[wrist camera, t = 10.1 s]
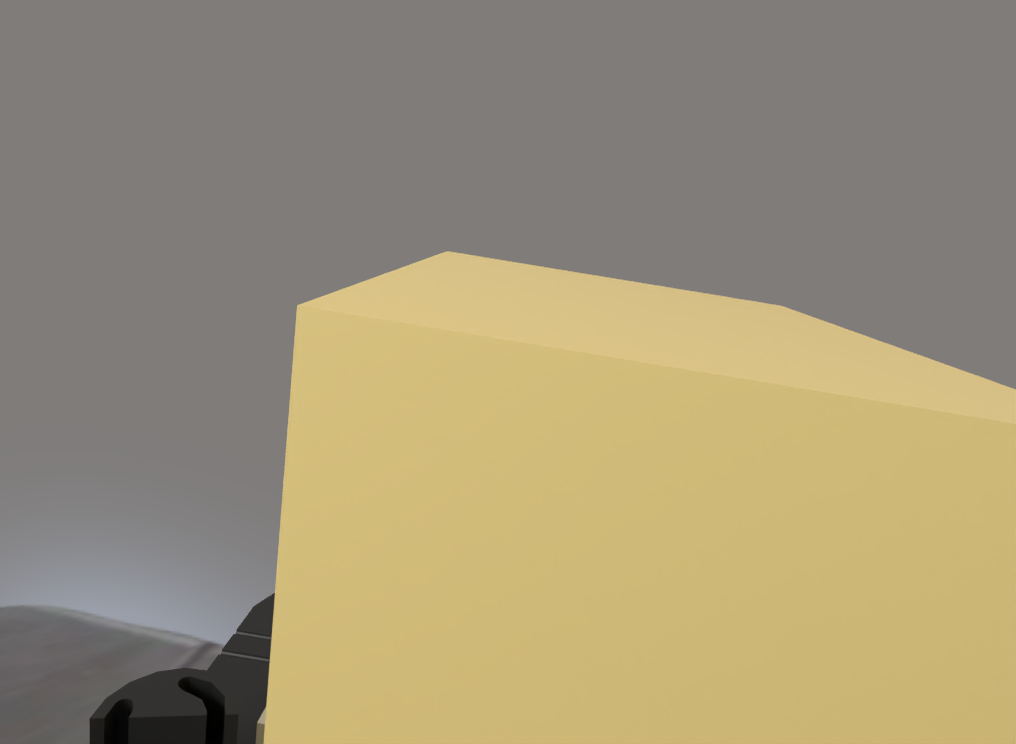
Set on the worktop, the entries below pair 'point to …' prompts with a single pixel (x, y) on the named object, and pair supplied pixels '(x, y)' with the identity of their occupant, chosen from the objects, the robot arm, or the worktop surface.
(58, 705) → the worktop surface
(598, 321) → the stub
